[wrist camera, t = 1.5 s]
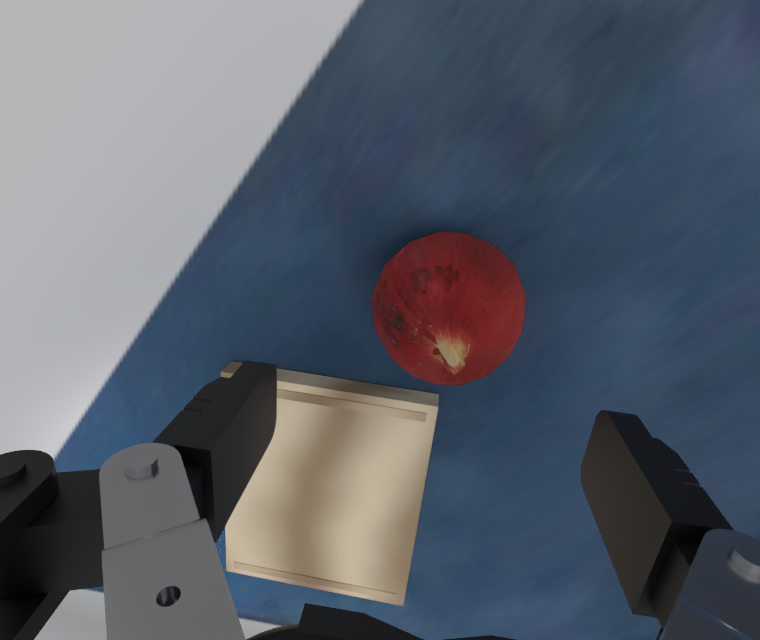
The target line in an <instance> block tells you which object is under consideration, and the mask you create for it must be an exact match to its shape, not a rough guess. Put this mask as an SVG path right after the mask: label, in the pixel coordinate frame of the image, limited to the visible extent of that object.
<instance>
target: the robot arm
mask: <svg viewBox="0 0 760 640" xmlns="http://www.w3.org/2000/svg"><path fill="white" fill-rule="evenodd" d="M276 418H277V369H276V366H275V365H274V364H267V363H260V362H252V361H244V362H243V363H242V365H241V366H240V367H239V368H238V369H237V370H236V372H235V373H234V374H233V375H232V376H231V378H227V377H220V378H218V379H216V380H214V381H213V382H211V383H209V384H207V385H205V386H204V387H203V388H202V389H201V390H200V391H199V392H198V393H197V394H196V395H195V396H194V398H193V400H191V401H190V402H189V403H188V404H187V405H186V406H185V407H184V411H183V410H182V411H181V412H180V413H179V414H178V415H177V416H176V417H175V418H174V419H173V420H172V422H171V423H170V424H169V425H168V426H167V427H166V428H165V429H164V430H163V431H162V432H161V434H160V435H159V436H158V437H157V438H156V439H155V440H154V441H153V442H152V443H144V444H139V445H135V446H131V447H128V448H126V449H123V450H121V451H119V452H117V453H116V454H114V455H113V456H111V457H110V458H109V459H108V460H107V461H106V462H105V463H104V464H103V466H102V467H101V469H97V470H86V471H73V472H60V473H56V469H55V465H54V461H53V458H52V457H51V456H50V455H49V454H47V453H44V452H42V451H37V450H20V451H14V452H9V453H5V454H1V455H0V640H34V639H35V637H36V636H37V634H38V633H39V632H40V630H41V629H42V628H43V626H44V625H45V624H46V622H47V621H48V619H49V618H50V617H51V615H52V614H53V613H54V611H55V610H56V609H57V607H58V605H59V604H60V603H61V602H62V600H63V599H64V598H65V596H66V595H67V593H68V592H69V591H70V590H77V589H85V588H92V587H100V586H104V598H105V613H106V628H107V640H245V637H244V634H243V631H242V628H241V625H240V622H239V618H238V615H237V612H236V609H235V606H234V603H233V599H232V596H231V593H230V590H229V587H228V584H227V581H226V578H225V574H224V571H223V568H222V565H221V562H220V559H219V556H218V553H217V549H216V546H215V543H216V542H217V540H218V538H219V537H220V535H221V533H222V531H223V529H224V527H225V525H226V524H227V522H228V520H229V518H230V516H231V514H232V513H233V511H234V509H235V507H236V505H237V503H238V501H239V500H240V498H241V496H242V494H243V492H244V490H245V488H246V487H247V485H248V483H249V481H250V479H251V477H252V476H253V474H254V472H255V470H256V468H257V466H258V464H259V463H260V461H261V459H262V457H263V455H264V453H265V452H266V450H267V448H268V446H269V444H270V442H271V440H272V438H273V435H274V431H275V426H276ZM689 471H690V470H689V469H688V467H687V466H686V464H685V463H684V462H683V460H682V459H681V458H680V456H679V455H678V454H677V453H676V452H675V451H673V450H672V449H671V448H670V447H668V446H667V445H666V444H665V443H663V442H662V441H661V440H659V439H658V438H652V436H651V435H650V433H649V432H648V430H647V429H646V428H645V426H644V425H643V423H642V422H641V420H640V419H639V418H638V416H636V415H634V414H628V413H620V412H613V411H606V410H602V411H600V412H599V413H598V415H597V417H596V420H595V423H594V426H593V429H592V432H591V436H590V439H589V442H588V445H587V449H586V452H585V455H584V458H583V462H582V466H581V483H582V488H583V490H584V493H585V495H586V498H587V500H588V503H589V505H590V508H591V511H592V513H593V516H594V518H595V521H596V523H597V526H598V528H599V531H600V533H601V536H602V538H603V541H604V543H605V546H606V548H607V551H608V553H609V556H610V558H611V561H612V563H613V566H614V568H615V571H616V573H617V576H618V578H619V581H620V583H621V586H622V588H623V591H624V593H625V596H626V598H627V601H628V603H629V606H630V608H631V611H632V613H633V614H638V615H644V616H650V617H656V618H658V620H659V622H660V624H661V629H660V631H659V633H658V635H657V638H656V640H760V541H758V540H757V539H755V538H752V537H750V536H748V535H746V534H743V533H740V532H737V531H734V530H733V528H732V527H731V526H730V524H729V523H728V522H727V520H726V519H725V518H724V516H723V515H722V514H721V512H720V511H719V509H718V508H717V507H716V505H715V504H714V503H713V501H712V500H711V499H710V497H709V496H708V494H707V493H706V492H705V490H704V489H703V488H702V487H700V486H699V482H698V481H697V479H696V478H695V477H694V475H693V474H692V473H690V472H689ZM214 542H215V543H214ZM247 640H424V639H421V638H418V637H416V636H414V635H412V634H409V633H407V632H405V631H403V630H400V629H398V628H396V627H394V626H391V625H389V624H387V623H385V622H383V621H380V620H378V619H376V618H374V617H371V616H369V615H367V614H365V613H359V612H353V611H348V610H342V609H336V608H330V607H325V606H319V605H313V604H307V603H305V605H304V609H303V612H302V616H301V619H300V623H299V624H294V625H287V626H282V627H278V628H273V629H271V630H268V631H265V632H262V633H259V634H257V635H255V636H253V637H251V638H249V639H247ZM445 640H515V639H509V638H503V637H497V636H492V635H490V636H479V637H468V638H456V639H445Z"/></svg>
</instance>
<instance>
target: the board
mask: <svg viewBox="0 0 760 640" xmlns="http://www.w3.org/2000/svg"><path fill="white" fill-rule="evenodd" d="M241 365H242V363H240V362H234V361H231V362H230V363H229V364H228V365H227V366H226V367H225V368H224V369H223V370H222V371H221V377H227V378H231V376H232V375H233V374H234V373H235V372H236V370H237V369H238V368H239V367H240V366H241ZM276 369H277V418H276V426H275V431H274V435H273V438H272V440H271V442H270V444H269V446H268V448H267V450H266V452H265V453H264V455H263V457H262V459H261V461H260V463H259V464H258V466H257V468H256V470H255V472H254V474H253V476H252V477H251V479H250V481H249V483H248V485H247V487H246V488H245V490H244V492H243V494H242V496H241V498H240V500H239V501H238V503H237V505H236V507H235V509H234V511H233V513H232V514H231V516H230V518H229V520H228V522H227V524H226V525H225V535H226V570H227V571H229V572H234V573H239V574H244V575H249V576H254V577H259V578H264V579H269V580H274V581H279V582H284V583H289V584H294V585H299V586H304V587H309V588H314V589H319V590H324V591H329V592H335V593H340V594H345V595H350V596H355V597H360V598H365V599H370V600H375V601H380V602H385V603H390V604H395V605H400V606H403V605H404V599H405V594H406V588H407V582H408V577H409V571H410V565H411V560H412V554H413V548H414V543H415V537H416V531H417V526H418V520H419V514H420V509H421V503H422V497H423V492H424V486H425V480H426V475H427V469H428V463H429V458H430V452H431V446H432V441H433V435H434V429H435V424H436V418H437V412H438V406H439V394H434V393H428V392H422V391H416V390H409V389H403V388H397V387H390V386H384V385H378V384H372V383H365V382H359V381H353V380H347V379H340V378H334V377H328V376H322V375H315V374H309V373H303V372H296V371H290V370H284V369H278V368H276Z"/></svg>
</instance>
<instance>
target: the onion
mask: <svg viewBox="0 0 760 640" xmlns="http://www.w3.org/2000/svg"><path fill="white" fill-rule="evenodd" d="M372 306H373V315H374V325H375V331H376V333H377V334H378V336H379V338H380V340H381V342H382V343H383V345H384V347H385V349H386V350H387V352H388V354H389V356H390V357H391V359H392V360H394V361H395V362H396V363H397V364H398V365H400V366H401V367H402V368H403V369H405V370H406V371H407V372H408V373H409V374H411V375H412V376H413V377H416V378H419V379H422V380H425V381H428V382H431V383H434V384H439V385H464V384H467V383H469V382H472V381H474V380H477V379H479V378H482V377H485V376H487V375H489V374H490V373H491V372H492V371H493V370H494V369H495V368H497V367H498V366H499V365H500V364H501V363H502V362H503V361H505V360H506V359H507V358H508V357H509V356H510V354H511V352H512V351H513V349H514V347H515V345H516V343H517V341H518V339H519V337H520V335H521V333H522V331H523V324H524V315H525V306H526V296H525V292H524V289H523V286H522V284H521V281H520V278H519V275H518V272H517V269H516V267H515V265H514V264H513V263H512V262H511V261H510V260H509V259H508V258H507V257H506V256H505V255H504V254H503V253H502V252H501V251H500V250H499V249H498V248H497V247H496V246H494V245H493V244H491V243H488V242H485V241H483V240H480V239H478V238H476V237H474V236H471V235H469V234H467V233H454V232H437V233H434V234H431V235H428V236H425V237H422V238H419V239H416V240H413V241H411V242H409V243H408V244H407V245H406V246H405V247H403V248H402V249H401V250H400V251H399V252H398V253H397V254H396V255H395V256H393V257H392V258H391V259H390V260H389V261H388V262H387V263H386V264H385V265H384V267H383V269H382V272H381V274H380V277H379V279H378V282H377V284H376V287H375V290H374V292H373V298H372Z"/></svg>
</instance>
